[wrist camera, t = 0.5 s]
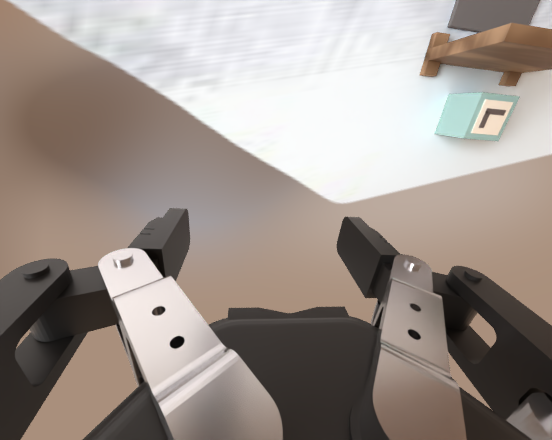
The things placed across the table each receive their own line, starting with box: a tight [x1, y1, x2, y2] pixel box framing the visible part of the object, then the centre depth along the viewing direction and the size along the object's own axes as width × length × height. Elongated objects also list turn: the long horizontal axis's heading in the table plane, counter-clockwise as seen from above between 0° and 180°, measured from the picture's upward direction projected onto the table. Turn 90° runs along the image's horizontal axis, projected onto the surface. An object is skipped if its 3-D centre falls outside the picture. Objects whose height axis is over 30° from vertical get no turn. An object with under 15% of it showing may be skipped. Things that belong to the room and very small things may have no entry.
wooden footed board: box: [420, 23, 552, 86], centre depth 30 cm, size 5×16×12 cm, turn 85°
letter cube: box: [435, 92, 519, 141], centre depth 36 cm, size 6×6×6 cm
